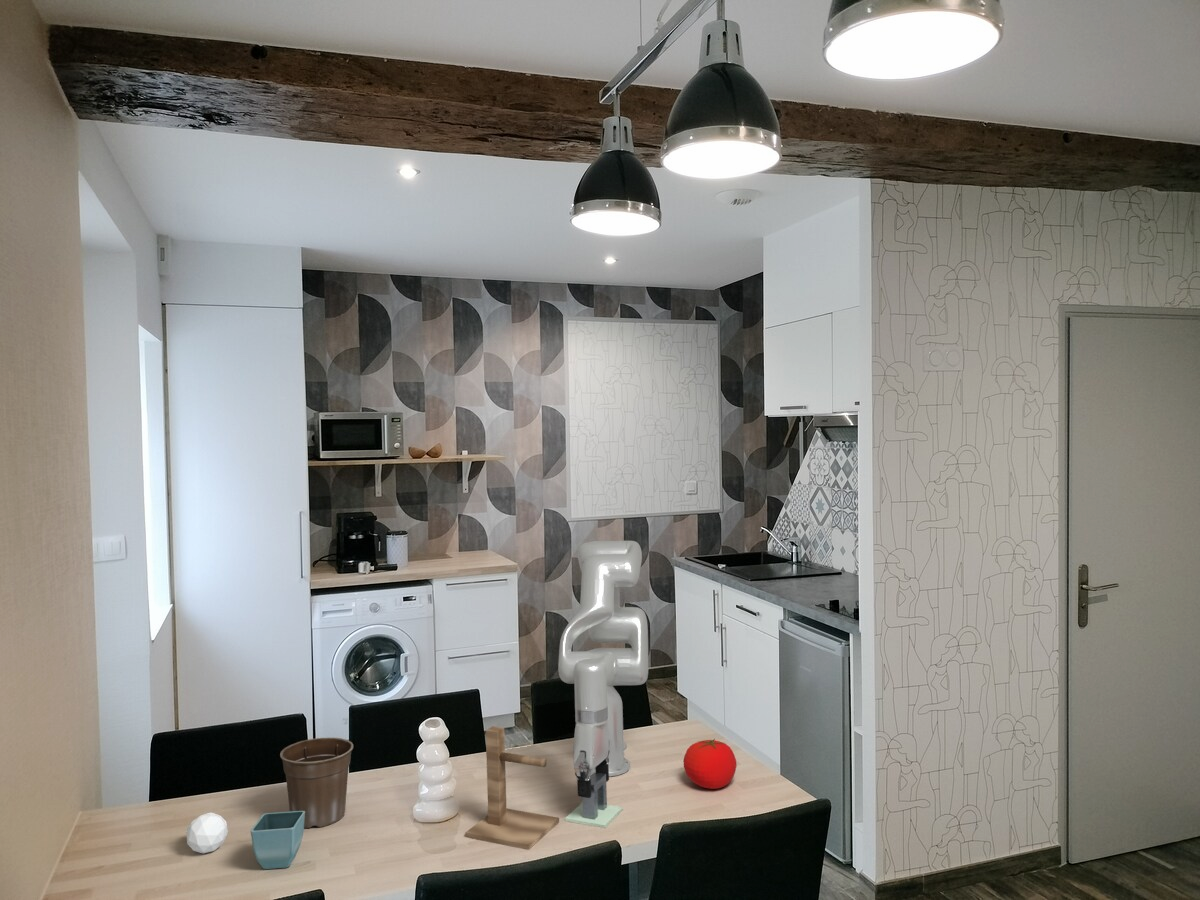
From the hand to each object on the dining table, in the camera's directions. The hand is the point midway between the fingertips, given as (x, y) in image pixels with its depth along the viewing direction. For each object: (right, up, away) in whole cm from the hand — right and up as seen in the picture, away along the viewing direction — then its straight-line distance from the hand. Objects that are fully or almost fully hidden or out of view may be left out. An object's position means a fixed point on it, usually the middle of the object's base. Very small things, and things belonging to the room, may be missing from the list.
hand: (593, 788), depth 192 cm
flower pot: (-65, -8, -19) cm, 68 cm away
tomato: (+29, -6, +15) cm, 33 cm away
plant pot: (-64, -8, +3) cm, 65 cm away
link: (0, -6, 0) cm, 6 cm away
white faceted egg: (-85, -9, -11) cm, 86 cm away
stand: (-18, -7, -6) cm, 20 cm away
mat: (0, -6, 0) cm, 6 cm away
